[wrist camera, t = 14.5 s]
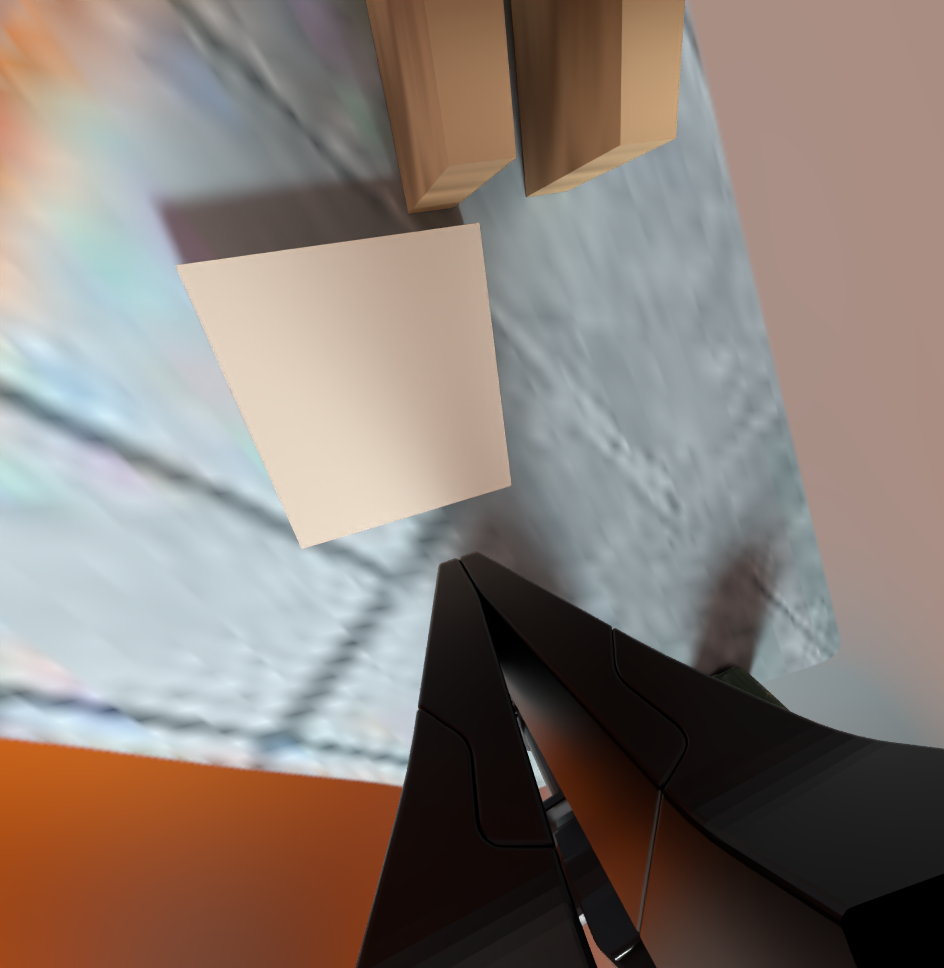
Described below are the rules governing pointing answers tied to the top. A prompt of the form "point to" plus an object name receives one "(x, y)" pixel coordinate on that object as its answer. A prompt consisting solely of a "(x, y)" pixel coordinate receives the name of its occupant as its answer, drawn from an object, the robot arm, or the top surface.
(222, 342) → the cover plate
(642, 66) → the oak box
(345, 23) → the top surface
